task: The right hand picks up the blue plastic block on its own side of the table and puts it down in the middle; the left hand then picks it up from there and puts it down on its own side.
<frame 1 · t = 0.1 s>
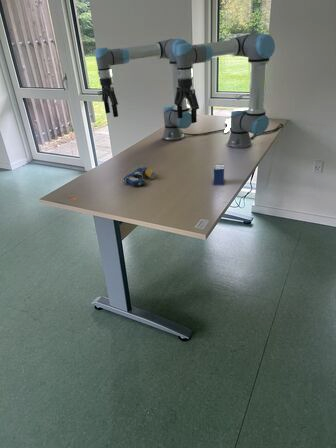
left hand: (111, 114, 206), 28 cm above the table, tool pointing down, fingers open, 13 cm apart
right hand: (187, 120, 181), 28 cm above the table, tool pointing down, fingers open, 13 cm apart
spoon: (230, 126, 262), on the table
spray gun: (141, 179, 187), on the table
block: (219, 182, 176), on the table
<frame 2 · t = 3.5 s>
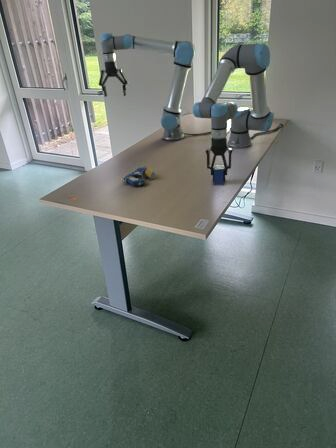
left hand: (115, 96, 224), 34 cm above the table, tool pointing down, fingers open, 13 cm apart
right hand: (219, 180, 175), 1 cm above the table, tool pointing down, fingers closed on block, 5 cm apart
block: (219, 182, 176), on the table, touching right hand
everything else where it was.
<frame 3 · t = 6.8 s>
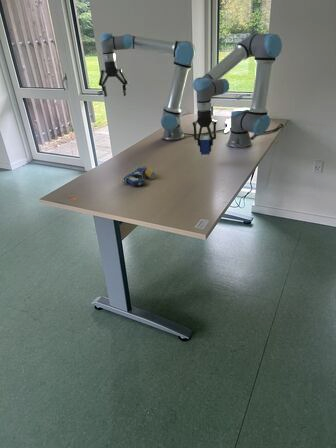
left hand: (115, 96, 224), 34 cm above the table, tool pointing down, fingers open, 13 cm apart
right hand: (205, 151, 193), 9 cm above the table, tool pointing down, fingers closed on block, 5 cm apart
block: (205, 152, 193), point 8 cm above the table, touching right hand
everything else where it was.
when the right hand's fingers open (2 cm above the table, at t = 10.0 s): block drops 1 cm, on the table.
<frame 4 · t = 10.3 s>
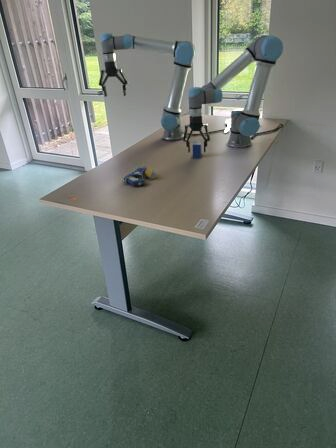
left hand: (115, 96, 224), 34 cm above the table, tool pointing down, fingers open, 13 cm apart
right hand: (197, 151, 210), 3 cm above the table, tool pointing down, fingers open, 9 cm apart
block: (197, 156, 211), on the table
everything else where it was.
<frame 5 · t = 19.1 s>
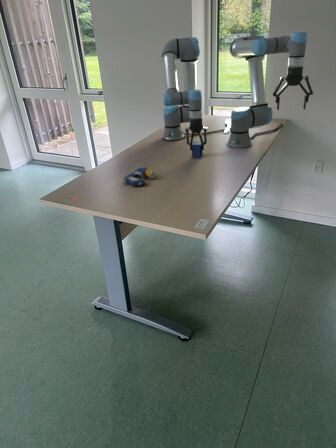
left hand: (197, 154, 211), 1 cm above the table, tool pointing down, fingers closed on block, 5 cm apart
right hand: (290, 109, 182), 28 cm above the table, tool pointing down, fingers open, 13 cm apart
block: (197, 156, 211), on the table, touching left hand
everything else where it was.
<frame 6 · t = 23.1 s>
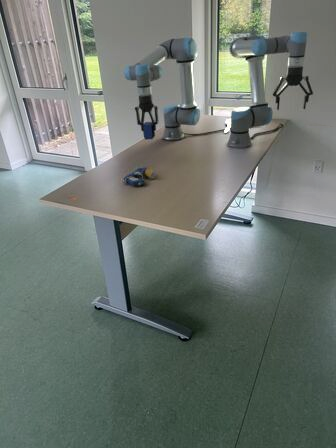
left hand: (149, 136, 198), 17 cm above the table, tool pointing down, fingers closed on block, 5 cm apart
right hand: (290, 109, 182), 28 cm above the table, tool pointing down, fingers open, 13 cm apart
block: (149, 137, 198), point 16 cm above the table, touching left hand
everything else where it was.
when the left hand's fingers open (2 cm above the table, at t = 27.5 s): block drops 1 cm, on the table.
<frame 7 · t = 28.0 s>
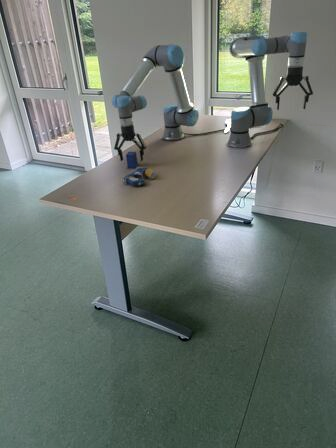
left hand: (132, 160, 203), 4 cm above the table, tool pointing down, fingers open, 12 cm apart
right hand: (290, 109, 182), 28 cm above the table, tool pointing down, fingers open, 13 cm apart
block: (132, 166, 205), on the table
everything else where it was.
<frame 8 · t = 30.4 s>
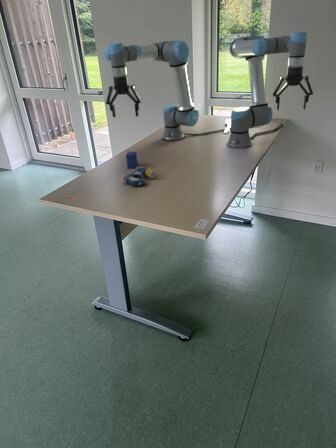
left hand: (125, 116, 189), 30 cm above the table, tool pointing down, fingers open, 13 cm apart
right hand: (290, 109, 182), 28 cm above the table, tool pointing down, fingers open, 13 cm apart
nothing on the table moved.
at the end: block inside the target area (0.0 cm from its centre), on the table; block tilted 0°; the two hands never held the block at the same time; the left hand is holding nothing; the right hand is holding nothing; block at rest at the end (0.0 cm/s) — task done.
